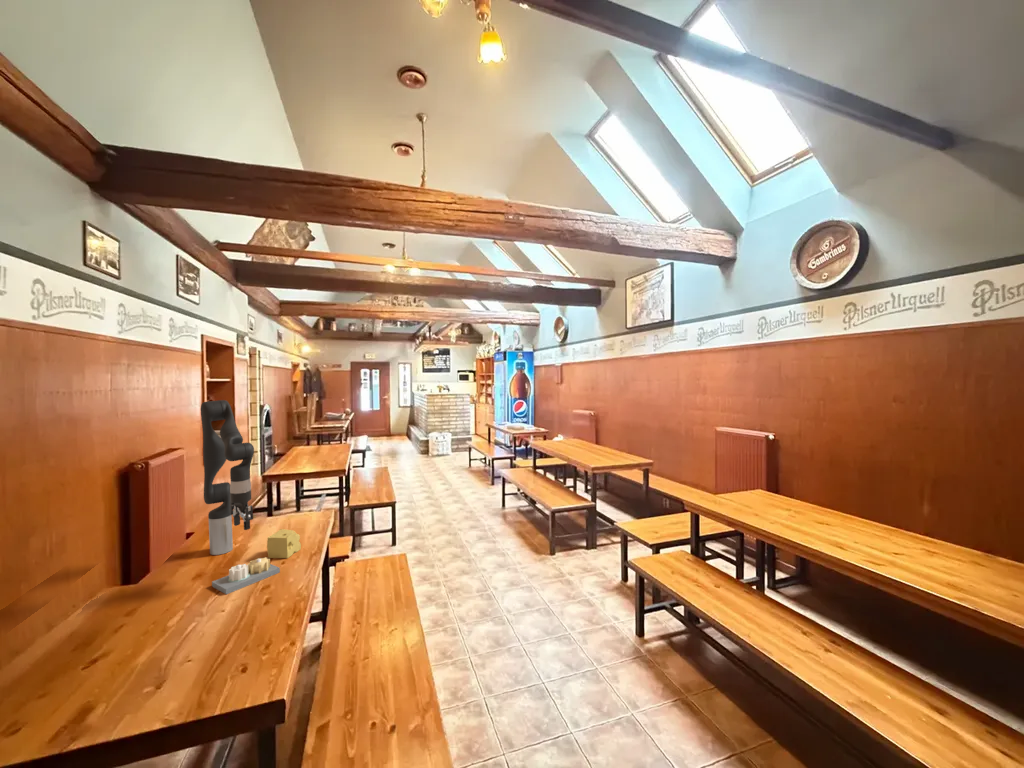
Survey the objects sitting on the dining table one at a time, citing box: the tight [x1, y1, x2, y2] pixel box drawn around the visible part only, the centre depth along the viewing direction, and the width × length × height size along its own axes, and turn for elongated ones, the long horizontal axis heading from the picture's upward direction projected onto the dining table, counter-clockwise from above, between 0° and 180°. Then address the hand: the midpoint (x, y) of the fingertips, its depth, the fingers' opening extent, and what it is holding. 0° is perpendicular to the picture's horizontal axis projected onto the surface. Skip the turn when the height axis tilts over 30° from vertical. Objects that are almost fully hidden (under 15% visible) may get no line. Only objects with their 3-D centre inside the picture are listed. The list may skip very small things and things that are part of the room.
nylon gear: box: [228, 563, 249, 581], centre depth 175 cm, size 6×6×4 cm
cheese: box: [266, 528, 302, 559], centre depth 202 cm, size 10×11×10 cm
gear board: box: [211, 556, 281, 595], centre depth 177 cm, size 12×21×7 cm, turn 148°
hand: (242, 527), depth 181 cm, fingers open, 8 cm apart
